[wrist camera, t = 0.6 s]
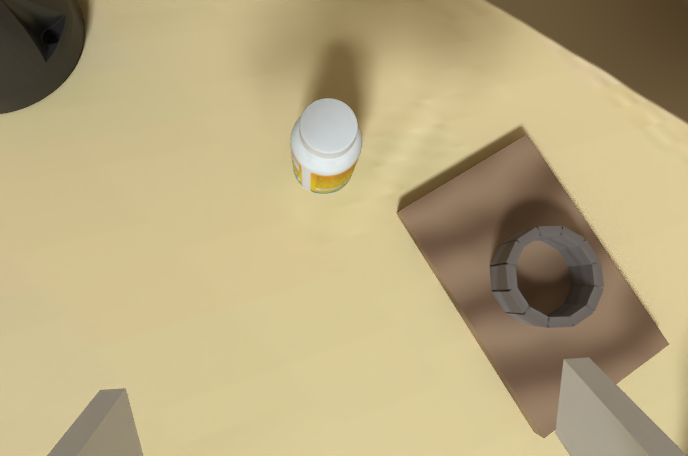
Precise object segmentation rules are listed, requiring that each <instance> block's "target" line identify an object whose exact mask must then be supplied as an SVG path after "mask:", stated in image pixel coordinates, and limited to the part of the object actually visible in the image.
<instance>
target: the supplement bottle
mask: <svg viewBox="0 0 688 456" xmlns="http://www.w3.org/2000/svg"><path fill="white" fill-rule="evenodd" d="M361 147H362V136H361V131H360V129H359V126H358V123H357V118H356V116H355V114H354V112H353V111H352V109H351V108H350V107H349V106H348V105H347V104H345V103H344V102H342V101H340V100H337V99H333V98H322V99H318V100H316V101H314V102H312V103H311V104H309V105H308V106H307V107H306V108H305V110H304V111H303V113H302V115H301V116H300V117H299V119H298V120H297V121H296V123H295V125H294V127H293V129H292V133H291V153H292V162H293V170H294V174H295V177H296V179H297V180H298V182H299V183H300V184H301V186H302V187H304V188H305V189H306V190H308V191H310V192H312V193H315V194H323V195H324V194H332V193H335V192H337V191H339V190H341V189H342V188H343V187H344V186H345V185H346V184H347V183H348V181H349V180H350V178H351V176H352V173H353V171H354V168H355V165H356V163H357V160H358V157H359V155H360V152H361Z"/></svg>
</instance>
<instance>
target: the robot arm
mask: <svg viewBox="0 0 688 456" xmlns="http://www.w3.org/2000/svg"><path fill="white" fill-rule="evenodd" d="M83 39H84V24H83V18H82V14H81V11H80V8H79V5H78V3H77V1H76V0H0V114H3V113H9V112H13V111H16V110H20V109H23V108H25V107H28V106H30V105H32V104H34V103H36V102H38V101H40V100H42V99H43V98H45V97H46V96H48V95H49V94H51V93H52V92H53V91H54V90H56V89H57V88H58V87H59V86H60V85H61V84H62V83H63V82H64V81H65V79H66V78H67V77H68V76H69V74H70V73H71V71H72V70H73V68H74V67H75V65H76V63H77V61H78V58H79V56H80V53H81V50H82V45H83ZM555 434H556V435H557V437H558V438H559V440H560V441H561V443H562V444H563V446H564V447H565V449H566V450H567V452H568V453H569V455H570V456H687V455H686V454H685V453H684V452H683V451H682V450H681V449H680V448H679V447H678V446H677V445H676V444H675V443H674V442H673V441H672V440H671V439H670V438H669V437H668V436H667V435H666V434H665V433H664V432H663V431H662V430H661V429H660V428H659V427H658V426H657V425H656V424H655V423H654V422H653V421H652V420H651V419H650V418H649V417H648V416H647V415H646V414H645V413H644V412H643V411H642V410H641V409H640V408H639V407H638V406H637V405H636V404H635V403H634V402H633V401H632V400H631V399H630V398H629V397H628V396H627V395H626V394H625V393H624V392H623V391H622V390H621V389H620V388H619V387H618V386H617V385H616V384H615V383H614V382H613V381H612V380H611V379H610V378H609V377H608V376H607V375H606V374H605V373H604V372H603V371H602V370H601V369H600V368H599V367H598V366H597V365H596V364H595V363H594V362H593V361H592V360H591V359H590V358H589V357H587V358H572V359H564V360H563V369H562V378H561V387H560V395H559V404H558V413H557V422H556V431H555ZM47 456H143V453H142V449H141V445H140V441H139V438H138V434H137V430H136V426H135V422H134V418H133V414H132V411H131V407H130V403H129V399H128V395H127V391H126V388H125V389H110V390H100V391H99V392H98V393H97V395H96V396H95V397H94V398H93V400H92V401H91V402H90V403H89V404H88V406H87V407H86V408H85V409H84V411H83V412H82V413H81V414H80V416H79V417H78V418H77V419H76V421H75V422H74V423H73V424H72V426H71V427H70V428H69V429H68V430H67V432H66V433H65V434H64V435H63V437H62V438H61V439H60V440H59V442H58V443H57V444H56V445H55V447H54V448H53V449H52V450H51V452H50V453H49V454H48V455H47Z"/></svg>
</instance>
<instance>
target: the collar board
mask: <svg viewBox="0 0 688 456" xmlns="http://www.w3.org/2000/svg"><path fill="white" fill-rule="evenodd" d="M397 215H398V217H399V218H400V220H401V221H402V223H403V224H404V226H405V228H406V229H407V231H408V232H409V234H410V236H411V237H412V239H413V240H414V242H415V244H416V245H417V247H418V248H419V250H420V251H421V253H422V255H423V256H424V258H425V259H426V261H427V263H428V264H429V266H430V267H431V269H432V271H433V272H434V274H435V275H436V277H437V279H438V280H439V282H440V283H441V285H442V286H443V288H444V290H445V291H446V293H447V294H448V296H449V298H450V299H451V301H452V302H453V304H454V306H455V307H456V309H457V310H458V312H459V313H460V315H461V317H462V318H463V320H464V321H465V323H466V325H467V326H468V328H469V329H470V331H471V333H472V334H473V336H474V337H475V339H476V340H477V342H478V344H479V345H480V347H481V348H482V350H483V352H484V353H485V355H486V356H487V358H488V360H489V361H490V363H491V364H492V366H493V367H494V369H495V371H496V372H497V374H498V375H499V377H500V379H501V380H502V382H503V383H504V385H505V387H506V388H507V390H508V391H509V393H510V395H511V396H512V398H513V399H514V401H515V402H516V404H517V406H518V407H519V409H520V410H521V412H522V414H523V415H524V417H525V418H526V420H527V422H528V423H529V425H530V426H531V428H532V429H533V431H534V432H535V433H536V434H538V435H540V436H541V437H543V438H545V437H546V436H548V435H549V434H550V433H552V432H553V431H554V430H556V422H557V413H558V404H559V395H560V387H561V378H562V369H563V360H564V359H572V358H587V357H589V358H590V359H591V360H592V361H593V362H594V363H595V364H596V365H597V366H598V367H599V368H600V369H601V370H602V371H603V372H604V373H605V374H606V375H607V376H608V377H609V378H610V379H611V380H612V381H613V382H614V383H615V384H617V383H618V382H620V381H621V380H622V379H624V378H625V377H626V376H628V375H629V374H630V373H632V372H633V371H634V370H636V369H637V368H638V367H640V366H641V365H642V364H644V363H645V362H646V361H648V360H649V359H650V358H652V357H653V356H654V355H656V354H657V353H658V352H660V351H661V350H662V349H664V348H665V347H666V346H668V345H669V343H668V342H667V340H666V339H665V337H664V336H663V334H662V333H661V331H660V330H659V328H658V327H657V326H656V324H655V323H654V321H653V320H652V318H651V317H650V315H649V314H648V312H647V311H646V309H645V308H644V306H643V305H642V303H641V302H640V301H639V299H638V298H637V296H636V295H635V293H634V292H633V290H632V289H631V287H630V286H629V284H628V283H627V281H626V280H625V278H624V277H623V275H622V274H621V273H620V271H619V270H618V268H617V267H616V265H615V264H614V262H613V261H612V259H611V258H610V256H609V255H608V253H607V252H606V250H605V249H604V247H603V246H602V245H601V243H600V242H599V240H598V239H597V237H596V236H595V234H594V233H593V231H592V230H591V228H590V227H589V225H588V224H587V222H586V221H585V219H584V218H583V217H582V215H581V214H580V212H579V211H578V209H577V208H576V206H575V205H574V203H573V202H572V200H571V199H570V197H569V196H568V194H567V193H566V192H565V190H564V189H563V187H562V186H561V184H560V183H559V181H558V180H557V178H556V177H555V175H554V174H553V172H552V171H551V169H550V168H549V166H548V165H547V164H546V162H545V161H544V159H543V158H542V156H541V155H540V153H539V152H538V150H537V149H536V147H535V146H534V144H533V143H532V141H531V140H530V138H529V137H528V136H527V135H525V136H523V137H522V138H520V139H518V140H517V141H515V142H513V143H512V144H510V145H508V146H507V147H505V148H503V149H502V150H500V151H498V152H497V153H495V154H493V155H492V156H490V157H488V158H487V159H485V160H483V161H482V162H480V163H478V164H477V165H475V166H473V167H472V168H470V169H468V170H467V171H465V172H463V173H462V174H460V175H458V176H457V177H455V178H453V179H452V180H450V181H448V182H447V183H445V184H443V185H442V186H440V187H438V188H437V189H435V190H433V191H432V192H430V193H428V194H427V195H425V196H423V197H422V198H420V199H418V200H417V201H415V202H413V203H412V204H410V205H408V206H407V207H405V208H403V209H402V210H400V211H399V212H398V213H397Z"/></svg>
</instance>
